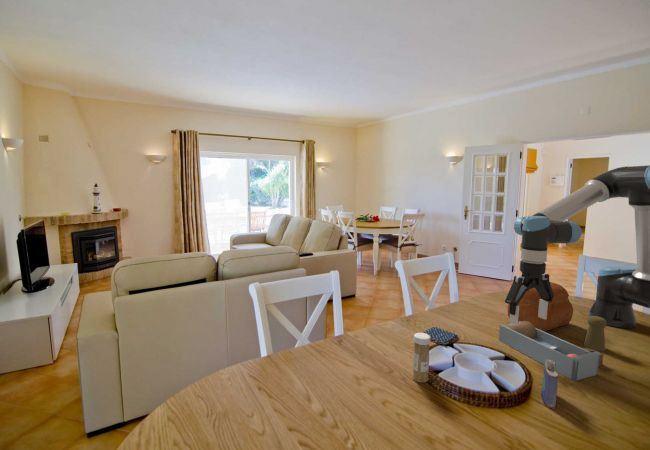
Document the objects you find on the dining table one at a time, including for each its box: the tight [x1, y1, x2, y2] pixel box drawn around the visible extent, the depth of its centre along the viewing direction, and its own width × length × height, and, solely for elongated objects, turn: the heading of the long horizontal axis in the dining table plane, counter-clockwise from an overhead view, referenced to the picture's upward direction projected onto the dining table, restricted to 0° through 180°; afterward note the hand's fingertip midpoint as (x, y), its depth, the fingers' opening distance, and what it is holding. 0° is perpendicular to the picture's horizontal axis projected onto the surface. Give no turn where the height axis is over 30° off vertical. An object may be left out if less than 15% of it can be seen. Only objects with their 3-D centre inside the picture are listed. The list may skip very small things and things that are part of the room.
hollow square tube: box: [586, 349, 604, 366], centre depth 107 cm, size 3×3×4 cm
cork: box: [583, 316, 608, 352], centre depth 118 cm, size 6×6×11 cm
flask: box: [540, 359, 559, 410], centre depth 89 cm, size 9×3×11 cm, turn 151°
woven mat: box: [422, 326, 460, 345], centre depth 125 cm, size 10×11×2 cm
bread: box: [507, 281, 574, 332], centre depth 138 cm, size 18×22×17 cm
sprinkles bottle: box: [412, 332, 431, 384], centre depth 98 cm, size 5×5×14 cm
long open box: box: [498, 321, 601, 382], centre depth 111 cm, size 10×27×8 cm, turn 20°
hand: (528, 320), depth 117 cm, fingers open, 13 cm apart
